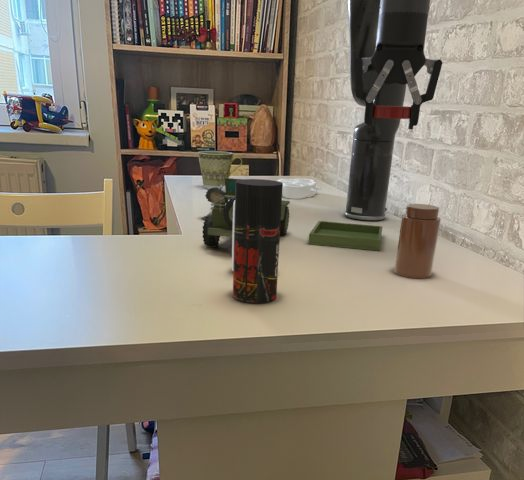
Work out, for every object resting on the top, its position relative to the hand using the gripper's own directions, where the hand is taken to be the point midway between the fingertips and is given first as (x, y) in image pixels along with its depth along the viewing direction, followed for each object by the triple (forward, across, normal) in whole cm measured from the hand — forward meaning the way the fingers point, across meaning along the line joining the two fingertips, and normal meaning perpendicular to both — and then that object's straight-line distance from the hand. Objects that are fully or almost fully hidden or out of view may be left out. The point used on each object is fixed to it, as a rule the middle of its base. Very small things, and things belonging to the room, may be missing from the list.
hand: (390, 127), depth 94 cm
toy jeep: (+21, -24, -1) cm, 32 cm away
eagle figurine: (+21, -34, +18) cm, 43 cm away
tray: (+21, -6, +7) cm, 23 cm away
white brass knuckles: (+22, -24, +62) cm, 70 cm away
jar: (+21, +6, -13) cm, 25 cm away
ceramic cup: (+22, -46, +62) cm, 80 cm away
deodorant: (+21, -16, -32) cm, 42 cm away
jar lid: (-3, 0, 0) cm, 3 cm away
